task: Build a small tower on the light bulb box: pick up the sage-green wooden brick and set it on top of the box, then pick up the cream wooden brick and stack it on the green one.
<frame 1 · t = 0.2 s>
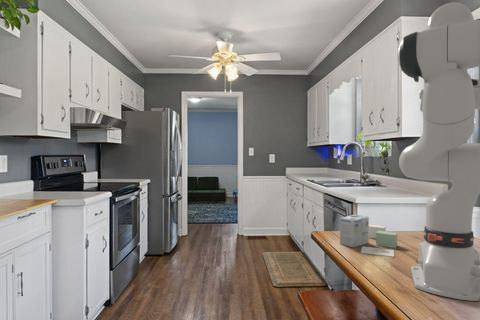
hand: (451, 122, 116), 47 cm above the table, tool pointing down, fingers open, 8 cm apart
light bulb box: (354, 244, 126), on the table
brick a: (386, 245, 124), on the table
brick b: (376, 237, 136), on the table
instruction sheet: (377, 251, 116), on the table
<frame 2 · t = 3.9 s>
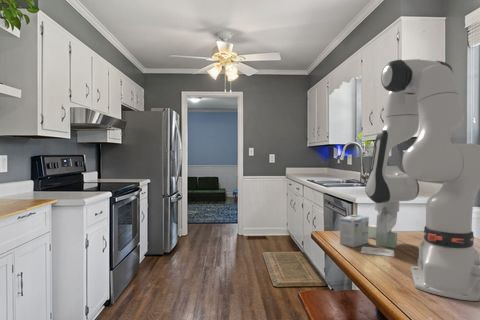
hand: (386, 240, 124), 2 cm above the table, tool pointing down, fingers closed on brick a, 4 cm apart
brick a: (386, 245, 124), on the table, touching gripper
everything else where it was.
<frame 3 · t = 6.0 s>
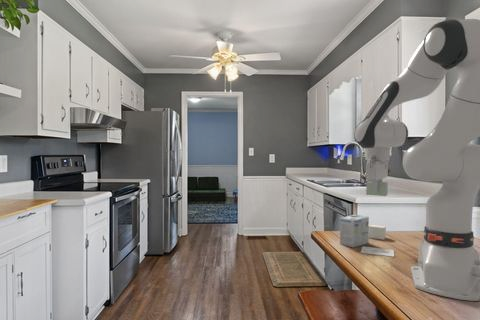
hand: (376, 190, 125), 21 cm above the table, tool pointing down, fingers closed on brick a, 4 cm apart
brick a: (376, 194, 125), point 20 cm above the table, touching gripper
everything else where it was.
when the fingers open (14 cm above the table, at t = 8.2 s): brick a drops 1 cm, resting on light bulb box.
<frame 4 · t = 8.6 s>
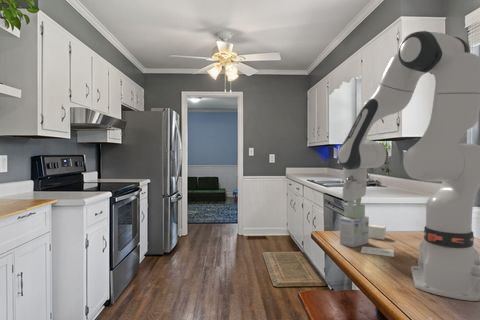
hand: (354, 209, 126), 14 cm above the table, tool pointing down, fingers open, 8 cm apart
light bulb box: (354, 244, 126), on the table, touching brick a
brick a: (354, 216, 126), point 11 cm above the table, touching light bulb box
everything else where it was.
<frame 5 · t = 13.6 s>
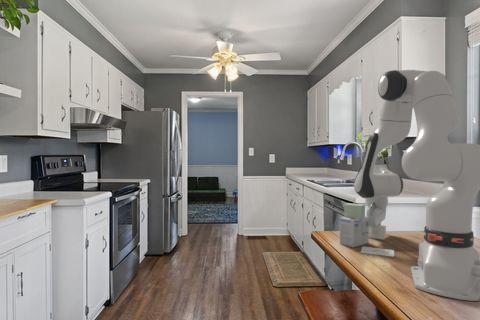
hand: (376, 233, 136), 2 cm above the table, tool pointing down, fingers closed on brick b, 4 cm apart
brick b: (376, 237, 136), on the table, touching gripper
everything else where it was.
when the fingers open (19 cm above the table, at t = 19.0 s): brick b drops 1 cm, resting on brick a.
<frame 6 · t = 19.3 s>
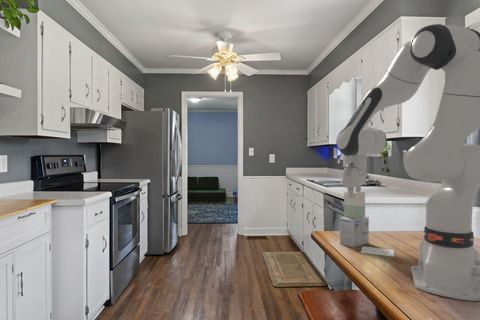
hand: (354, 197, 126), 19 cm above the table, tool pointing down, fingers open, 7 cm apart
brick a: (354, 217, 126), point 11 cm above the table, touching brick b, light bulb box
brick b: (354, 204, 126), point 16 cm above the table, touching brick a
everything else where it was.
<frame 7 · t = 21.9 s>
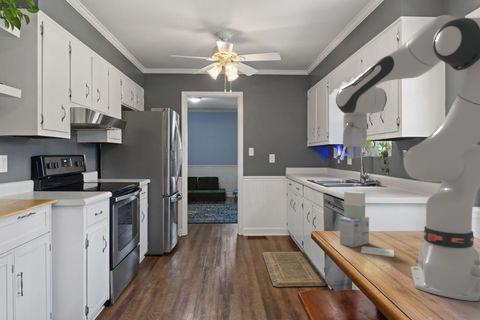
hand: (354, 158, 126), 34 cm above the table, tool pointing down, fingers open, 8 cm apart
nothing on the table moved.
at the end: brick a inside the target area on the light bulb box (0.0 cm from its centre), point 11.0 cm above the light bulb box's base; brick b inside the target area on the brick a (0.1 cm from its centre), point 5.0 cm above the brick a's base; brick b tilted 0° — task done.
